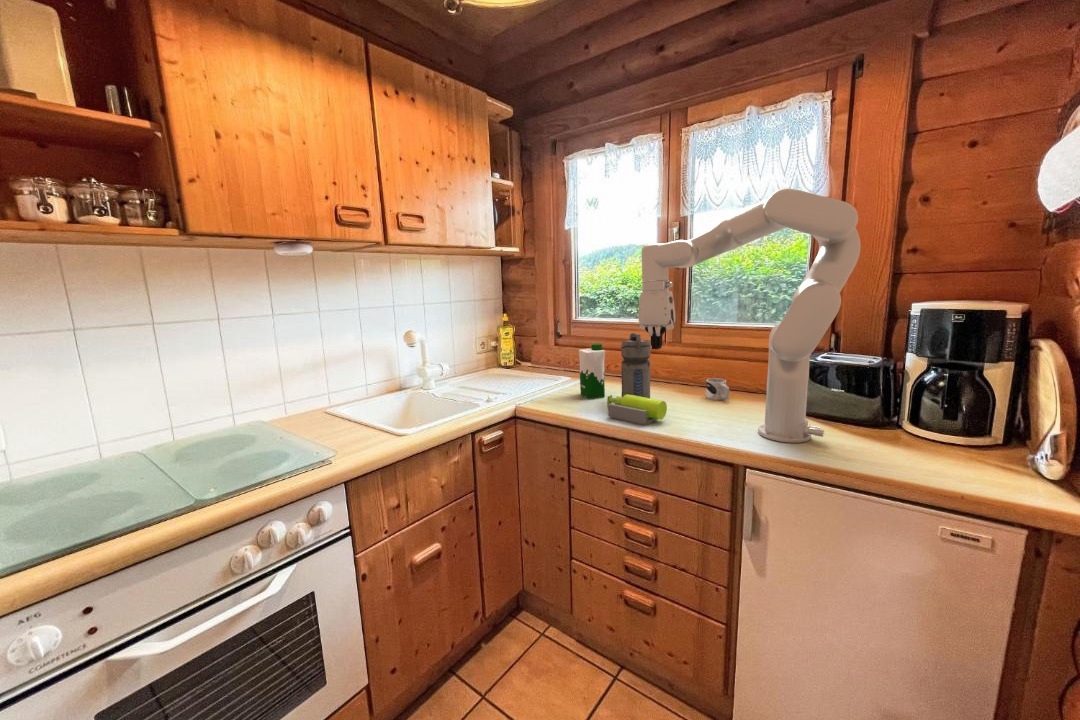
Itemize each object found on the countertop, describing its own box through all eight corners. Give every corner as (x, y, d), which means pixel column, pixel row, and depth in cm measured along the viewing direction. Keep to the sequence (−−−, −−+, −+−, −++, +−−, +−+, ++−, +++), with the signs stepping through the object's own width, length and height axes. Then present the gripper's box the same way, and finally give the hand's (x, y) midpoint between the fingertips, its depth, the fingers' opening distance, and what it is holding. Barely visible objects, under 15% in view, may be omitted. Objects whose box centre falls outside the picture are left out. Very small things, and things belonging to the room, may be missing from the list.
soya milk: (608, 397, 162) (607, 345, 158) (586, 400, 159) (585, 347, 156) (598, 391, 170) (597, 342, 167) (577, 394, 168) (576, 344, 164)
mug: (702, 396, 158) (702, 379, 157) (717, 394, 160) (718, 377, 158) (719, 403, 148) (720, 385, 147) (736, 401, 150) (736, 383, 149)
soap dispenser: (666, 420, 133) (613, 409, 147) (667, 399, 132) (613, 389, 146) (656, 425, 129) (603, 412, 143) (657, 402, 128) (603, 392, 142)
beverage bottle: (645, 395, 162) (646, 330, 157) (653, 405, 149) (653, 334, 144) (618, 396, 162) (618, 331, 158) (624, 406, 149) (623, 335, 145)
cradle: (662, 416, 137) (662, 402, 136) (644, 425, 129) (644, 411, 128) (627, 409, 146) (626, 396, 145) (608, 417, 138) (608, 404, 137)
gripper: (685, 285, 123) (685, 348, 126) (639, 287, 133) (640, 345, 136) (673, 286, 118) (674, 351, 121) (626, 289, 128) (628, 349, 131)
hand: (656, 348), depth 129 cm, fingers closed
